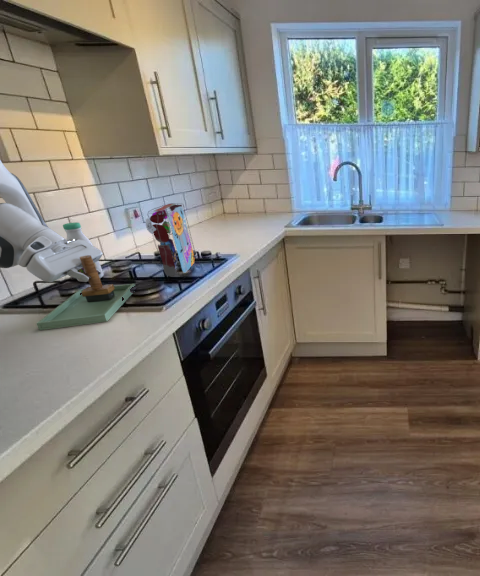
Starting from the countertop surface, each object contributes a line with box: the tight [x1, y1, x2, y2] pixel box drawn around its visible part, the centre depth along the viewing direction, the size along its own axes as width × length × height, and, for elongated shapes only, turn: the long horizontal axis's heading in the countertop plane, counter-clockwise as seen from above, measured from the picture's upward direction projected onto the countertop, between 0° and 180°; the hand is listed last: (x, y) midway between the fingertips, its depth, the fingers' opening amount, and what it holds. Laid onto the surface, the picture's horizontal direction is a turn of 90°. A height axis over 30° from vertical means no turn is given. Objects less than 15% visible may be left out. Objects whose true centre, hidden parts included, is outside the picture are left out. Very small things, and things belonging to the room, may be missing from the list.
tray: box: [36, 283, 136, 331], centre depth 107 cm, size 16×24×2 cm, turn 16°
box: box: [145, 202, 198, 282], centre depth 124 cm, size 25×6×24 cm, turn 9°
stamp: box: [80, 255, 115, 302], centre depth 108 cm, size 7×4×14 cm, turn 104°
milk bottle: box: [62, 221, 104, 283], centre depth 126 cm, size 8×8×20 cm
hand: (93, 277), depth 108 cm, fingers closed on stamp, 3 cm apart
